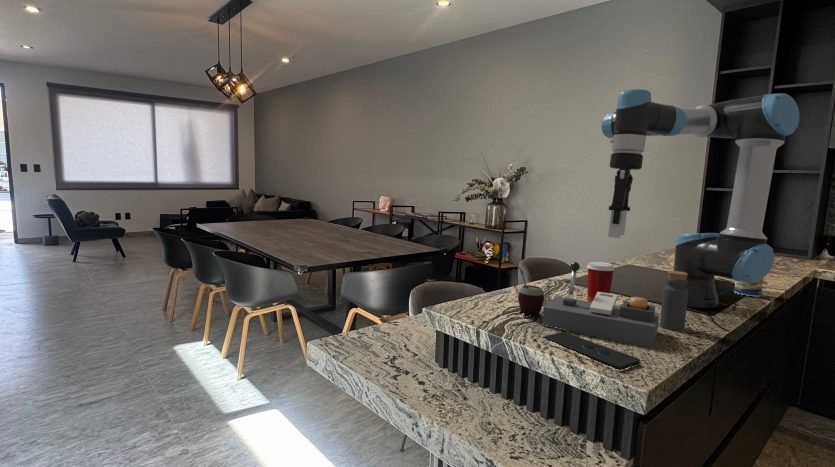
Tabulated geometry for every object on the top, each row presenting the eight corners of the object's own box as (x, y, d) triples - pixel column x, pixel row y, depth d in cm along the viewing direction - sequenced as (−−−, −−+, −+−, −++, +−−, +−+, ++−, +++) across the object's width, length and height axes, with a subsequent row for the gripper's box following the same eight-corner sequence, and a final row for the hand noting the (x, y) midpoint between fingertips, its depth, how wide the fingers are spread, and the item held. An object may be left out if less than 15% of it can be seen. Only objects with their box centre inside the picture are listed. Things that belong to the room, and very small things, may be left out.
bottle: (687, 331, 120) (693, 275, 118) (663, 329, 121) (669, 273, 119) (679, 324, 126) (685, 271, 124) (656, 322, 127) (662, 269, 125)
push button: (630, 305, 117) (631, 296, 117) (647, 308, 115) (648, 298, 115) (628, 308, 114) (629, 299, 114) (646, 311, 112) (647, 302, 112)
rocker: (597, 295, 124) (597, 291, 124) (617, 298, 122) (617, 294, 121) (589, 311, 116) (589, 306, 116) (610, 315, 114) (611, 309, 113)
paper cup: (611, 308, 140) (615, 263, 138) (610, 315, 133) (614, 267, 131) (584, 304, 143) (587, 260, 141) (581, 310, 136) (585, 264, 134)
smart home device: (619, 366, 92) (540, 336, 108) (618, 374, 92) (540, 343, 109) (641, 358, 97) (563, 330, 113) (641, 366, 97) (563, 337, 113)
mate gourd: (547, 315, 130) (550, 263, 128) (533, 321, 124) (537, 266, 122) (523, 309, 135) (527, 259, 133) (509, 315, 129) (512, 262, 127)
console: (556, 313, 132) (558, 287, 131) (657, 331, 119) (660, 303, 118) (542, 325, 120) (544, 297, 120) (653, 347, 107) (656, 316, 106)
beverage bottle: (760, 294, 167) (767, 239, 165) (763, 299, 160) (770, 242, 158) (732, 290, 172) (739, 237, 169) (733, 294, 164) (740, 239, 162)
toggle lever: (567, 294, 125) (572, 262, 127) (576, 295, 124) (581, 263, 125) (565, 293, 123) (570, 260, 125) (574, 294, 122) (579, 261, 123)
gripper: (615, 157, 130) (606, 231, 132) (606, 146, 107) (595, 236, 110) (644, 158, 126) (634, 235, 128) (641, 148, 104) (629, 240, 106)
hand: (616, 236), depth 119 cm, fingers open, 13 cm apart
